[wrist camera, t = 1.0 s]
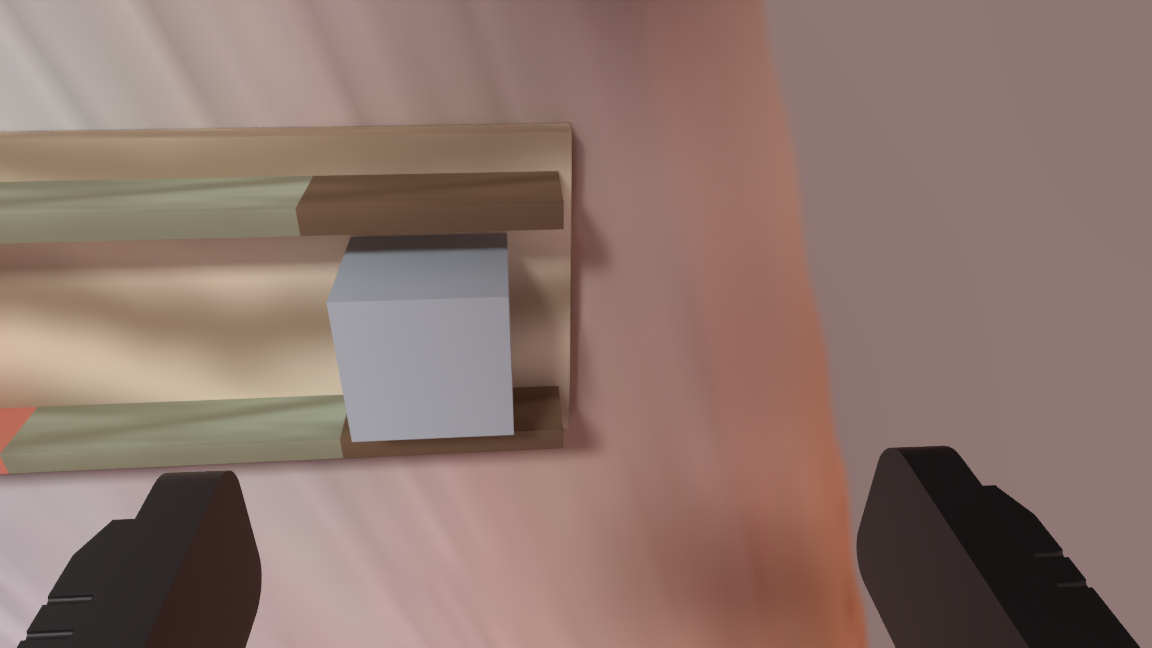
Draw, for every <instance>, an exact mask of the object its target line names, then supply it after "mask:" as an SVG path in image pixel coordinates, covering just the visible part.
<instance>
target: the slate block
mask: <svg viewBox="0 0 1152 648" xmlns="http://www.w3.org/2000/svg"><path fill="white" fill-rule="evenodd" d="M326 303H327V309H328V314H329V320H330V325H331V331H332V336H333V342H334V347H335V353H336V358H337V363H338V369H339V374H340V380H341V385H342V391H343V396H344V402H345V407H346V413H347V418H348V424H349V429H350V435H351V440H352V442H365V441H387V440H409V439H432V438H454V437H476V436H498V435H514V417H513V375H512V343H511V318H510V292H509V267H508V241H507V233H487V234H448V235H409V236H370V237H351V238H350V240H349V243H348V246H347V248H346V251H345V254H344V256H343V259H342V262H341V265H340V267H339V270H338V273H337V275H336V278H335V281H334V283H333V286H332V289H331V291H330V294H329V297H328V300H327V302H326Z"/></svg>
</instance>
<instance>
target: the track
mask: <svg viewBox="0 0 1152 648" xmlns="http://www.w3.org/2000/svg"><path fill="white" fill-rule="evenodd" d="M571 173H572V130H571V126H570V123H553V124H486V125H420V126H353V127H286V128H220V129H153V130H87V131H20V132H0V408H24V407H37V409H36V410H35V411H34V412H33V414H32V415H31V416H30V417H29V419H28V420H27V421H26V422H25V424H24V425H23V426H22V427H21V428H20V430H19V431H18V432H17V433H16V435H15V436H14V437H13V438H12V440H11V441H10V442H9V443H8V445H7V446H6V447H5V448H4V450H3V451H2V452H1V453H0V457H1V459H2V461H3V463H4V465H5V467H6V469H7V471H8V473H9V474H13V473H34V472H56V471H78V470H99V469H121V468H142V467H164V466H185V465H207V464H228V463H250V462H271V461H293V460H315V459H336V458H358V457H379V456H401V455H422V454H444V453H465V452H487V451H509V450H530V449H552V448H563V430H564V429H569V417H570V295H571ZM487 233H507V241H508V267H509V292H510V318H511V343H512V375H513V417H514V435H498V436H476V437H454V438H432V439H409V440H387V441H365V442H352V440H351V435H350V429H349V424H348V418H347V413H346V407H345V402H344V396H343V391H342V385H341V380H340V374H339V369H338V363H337V358H336V353H335V347H334V342H333V336H332V331H331V325H330V320H329V314H328V309H327V303H326V302H327V300H328V297H329V294H330V291H331V289H332V286H333V283H334V281H335V278H336V275H337V273H338V270H339V267H340V265H341V262H342V259H343V256H344V254H345V251H346V248H347V246H348V243H349V240H350V238H351V237H370V236H409V235H448V234H487Z"/></svg>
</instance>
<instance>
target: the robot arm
mask: <svg viewBox="0 0 1152 648" xmlns="http://www.w3.org/2000/svg"><path fill="white" fill-rule="evenodd" d="M1062 551H1063V550H1062V548H1061V547H1060V546H1059V545H1058V543H1057V542H1056V541H1055V540H1054V538H1053V537H1052V536H1051V535H1050V533H1049V532H1048V531H1047V530H1046V528H1045V527H1044V526H1043V525H1042V523H1041V522H1040V521H1039V519H1038V518H1037V517H1036V516H1035V515H1034V514H1033V513H1032V512H1030V511H1029V510H1028V509H1026V508H1025V507H1024V506H1022V505H1021V504H1020V503H1018V502H1017V501H1015V500H1014V499H1013V498H1011V497H1010V496H1009V495H1007V494H1006V493H1005V492H1003V491H1002V490H1001V489H999V488H998V487H997V486H995V485H992V486H982V484H981V483H980V482H979V480H978V479H977V478H976V476H975V475H974V474H973V473H972V471H971V470H970V468H969V467H968V466H967V464H966V463H965V462H964V460H963V459H962V458H961V456H960V455H959V454H958V453H957V452H956V451H955V450H954V449H952V448H950V447H948V446H927V447H900V448H888V449H886V450H885V451H884V452H883V453H882V454H881V456H880V458H879V461H878V464H877V468H876V471H875V475H874V478H873V482H872V485H871V489H870V492H869V496H868V499H867V503H866V506H865V509H864V513H863V516H862V520H861V523H860V527H859V531H858V535H857V558H858V564H859V569H860V573H861V576H862V579H863V581H864V583H865V586H866V588H867V590H868V592H869V594H870V596H871V598H872V600H873V602H874V604H875V606H876V608H877V610H878V612H879V614H880V616H881V618H882V620H883V623H884V624H885V627H886V628H887V631H888V633H889V635H890V637H891V639H892V641H893V643H894V645H895V647H896V648H1140V647H1139V646H1138V644H1137V643H1136V642H1135V640H1134V639H1133V638H1132V637H1131V636H1130V634H1129V633H1128V632H1127V630H1126V629H1125V628H1124V627H1123V625H1122V624H1121V623H1120V622H1119V620H1118V619H1117V618H1116V616H1115V615H1114V614H1113V613H1112V611H1111V610H1110V609H1109V608H1108V606H1107V605H1106V604H1105V603H1104V601H1103V600H1102V599H1101V598H1100V596H1099V595H1098V594H1097V593H1096V591H1095V590H1094V589H1093V588H1092V587H1091V588H1088V587H1087V585H1086V579H1085V577H1084V576H1083V575H1082V574H1081V573H1080V571H1079V570H1078V569H1077V567H1076V566H1075V565H1074V564H1073V562H1072V561H1071V560H1070V559H1069V557H1064V556H1063V553H1062ZM261 580H262V579H261V562H260V557H259V553H258V549H257V546H256V542H255V538H254V535H253V531H252V527H251V524H250V520H249V516H248V513H247V509H246V505H245V502H244V498H243V494H242V491H241V487H240V484H239V481H238V478H237V476H236V475H235V474H234V473H233V472H232V471H206V472H179V473H165V474H163V475H161V476H160V477H159V478H158V479H157V481H156V482H155V484H154V485H153V487H152V489H151V491H150V493H149V494H148V496H147V498H146V500H145V502H144V504H143V505H142V507H141V509H140V511H139V513H138V514H137V516H136V518H135V519H123V520H112V521H111V522H110V523H109V524H108V525H107V526H105V527H104V528H103V529H102V530H101V531H100V532H99V533H98V534H96V535H95V536H94V537H93V538H92V539H91V540H90V541H89V542H87V543H86V544H85V545H84V546H83V547H82V548H81V549H80V550H78V551H77V552H76V553H75V554H74V555H73V556H72V558H71V559H70V561H69V563H68V564H67V566H66V568H65V569H64V571H63V573H62V574H61V576H60V577H59V579H58V581H57V582H56V584H55V586H54V587H53V589H52V591H51V592H50V594H49V596H48V603H47V605H42V607H41V609H40V610H39V612H38V614H37V615H36V617H35V619H34V620H33V622H32V624H31V625H30V627H29V628H28V630H27V638H26V640H25V641H21V642H20V643H19V645H18V647H17V648H245V647H246V644H247V641H248V638H249V635H250V632H251V629H252V625H253V622H254V619H255V616H256V613H257V609H258V605H259V600H260V593H261Z"/></svg>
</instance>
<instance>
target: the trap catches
mask: <svg viewBox="0 0 1152 648" xmlns="http://www.w3.org/2000/svg"><path fill="white" fill-rule="evenodd" d="M36 409H37V407H24V408H0V453H1V452H2V451H3V450H4V448H5V447H6V446H7V445H8V443H9V442H10V441H11V440H12V438H13V437H14V436H15V435H16V433H17V432H18V431H19V430H20V428H21V427H22V426H23V425H24V424H25V422H26V421H27V420H28V419H29V417H30V416H31V415H32V414H33V412H34V411H35V410H36ZM0 474H9V473H8V471H7V469H6V467H5V465H4V463H3V461H2V459H1V457H0Z"/></svg>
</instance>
